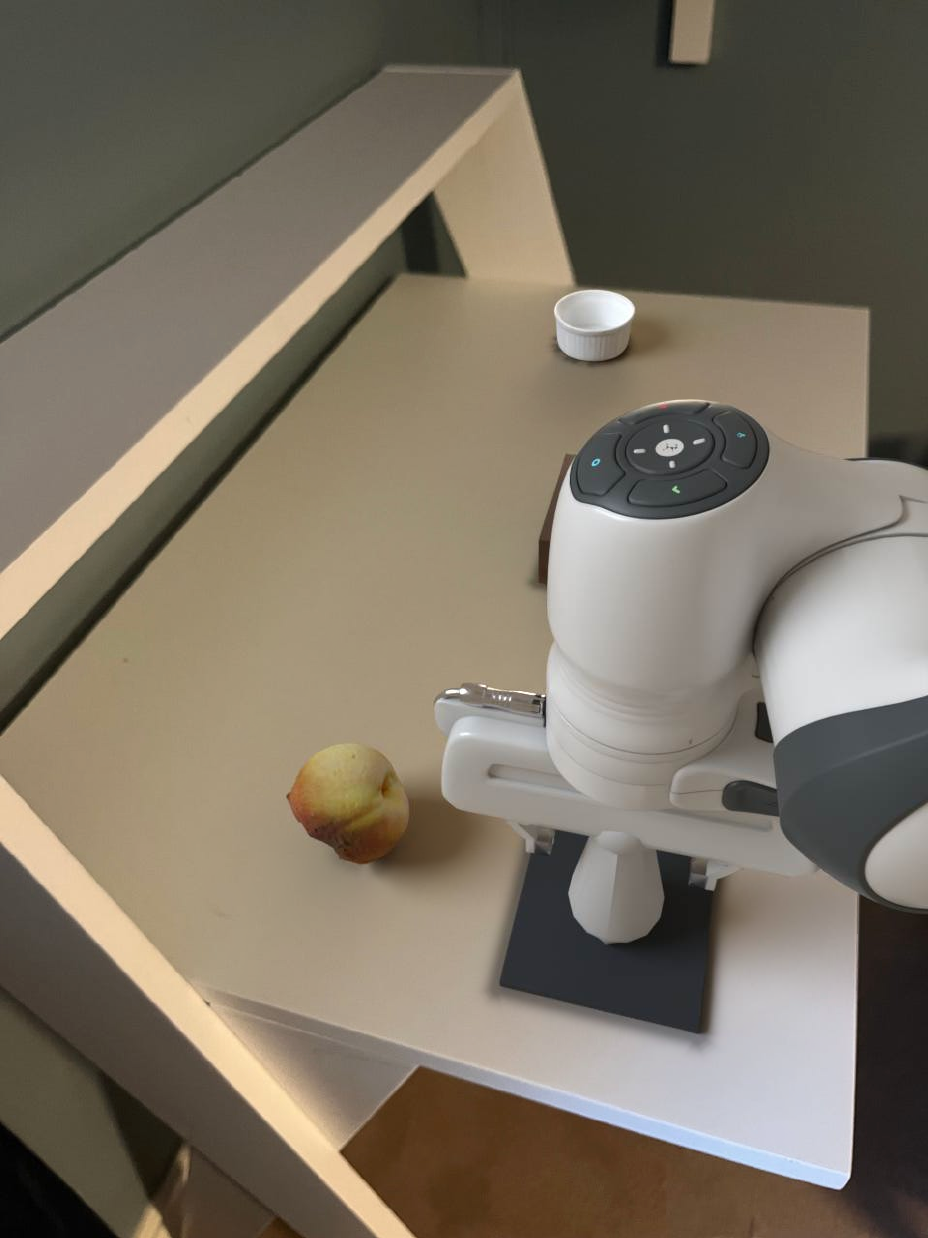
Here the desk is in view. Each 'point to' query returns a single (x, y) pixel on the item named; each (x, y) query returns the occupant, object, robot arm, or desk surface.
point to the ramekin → (593, 324)
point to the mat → (610, 945)
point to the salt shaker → (617, 888)
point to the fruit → (351, 802)
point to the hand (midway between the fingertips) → (619, 860)
